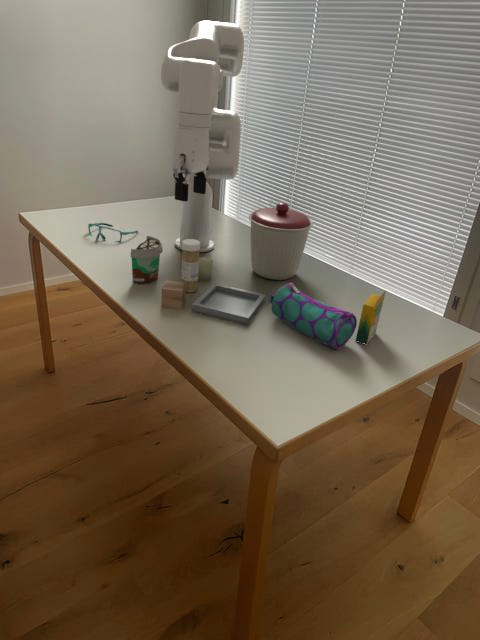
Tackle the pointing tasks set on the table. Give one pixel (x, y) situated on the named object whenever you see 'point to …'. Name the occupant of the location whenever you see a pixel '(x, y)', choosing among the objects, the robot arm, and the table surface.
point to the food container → (146, 261)
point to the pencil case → (313, 316)
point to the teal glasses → (108, 228)
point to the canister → (278, 241)
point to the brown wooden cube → (173, 294)
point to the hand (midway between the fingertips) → (190, 196)
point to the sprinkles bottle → (190, 264)
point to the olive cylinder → (205, 269)
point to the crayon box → (369, 318)
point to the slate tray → (229, 303)
